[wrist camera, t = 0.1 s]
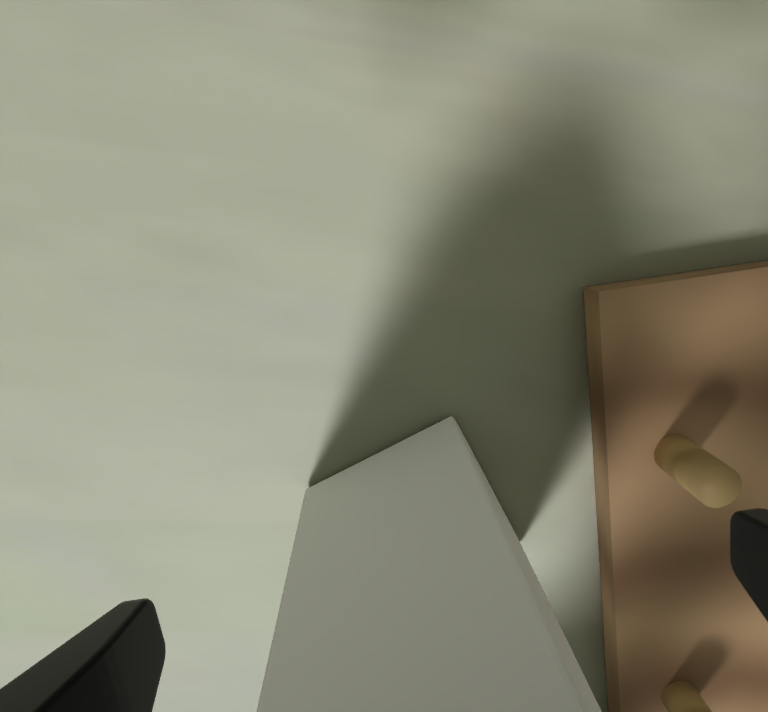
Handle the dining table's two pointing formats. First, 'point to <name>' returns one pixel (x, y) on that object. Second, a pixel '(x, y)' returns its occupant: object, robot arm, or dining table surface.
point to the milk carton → (416, 596)
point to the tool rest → (679, 484)
